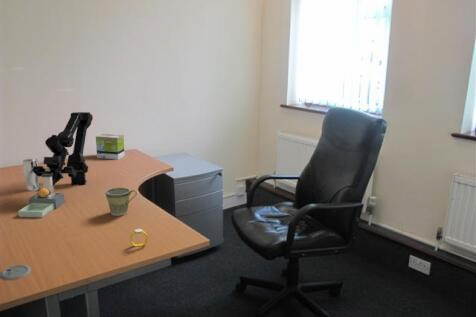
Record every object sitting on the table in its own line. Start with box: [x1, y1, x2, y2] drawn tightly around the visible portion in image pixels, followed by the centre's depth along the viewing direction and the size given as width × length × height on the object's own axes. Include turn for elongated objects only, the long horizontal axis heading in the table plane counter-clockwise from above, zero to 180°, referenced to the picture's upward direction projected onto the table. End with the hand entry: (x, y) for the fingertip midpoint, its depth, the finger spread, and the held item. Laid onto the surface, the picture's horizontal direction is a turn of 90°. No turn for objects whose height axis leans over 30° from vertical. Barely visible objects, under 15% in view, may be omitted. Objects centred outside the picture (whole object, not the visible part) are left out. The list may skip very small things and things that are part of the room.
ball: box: [38, 188, 49, 198], centre depth 186 cm, size 4×4×4 cm
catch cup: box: [17, 203, 55, 218], centre depth 181 cm, size 10×10×2 cm
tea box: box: [95, 133, 125, 161], centre depth 275 cm, size 15×10×15 cm, turn 80°
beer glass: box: [22, 158, 41, 192], centre depth 210 cm, size 7×7×15 cm
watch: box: [129, 228, 149, 248], centre depth 150 cm, size 6×3×6 cm, turn 108°
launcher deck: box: [28, 191, 66, 210], centre depth 189 cm, size 8×12×6 cm, turn 86°
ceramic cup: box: [105, 187, 138, 217], centre depth 180 cm, size 13×10×10 cm
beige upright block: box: [40, 174, 55, 195], centre depth 189 cm, size 2×4×9 cm, turn 86°
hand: (49, 187), depth 191 cm, fingers closed, pressing on beige upright block
